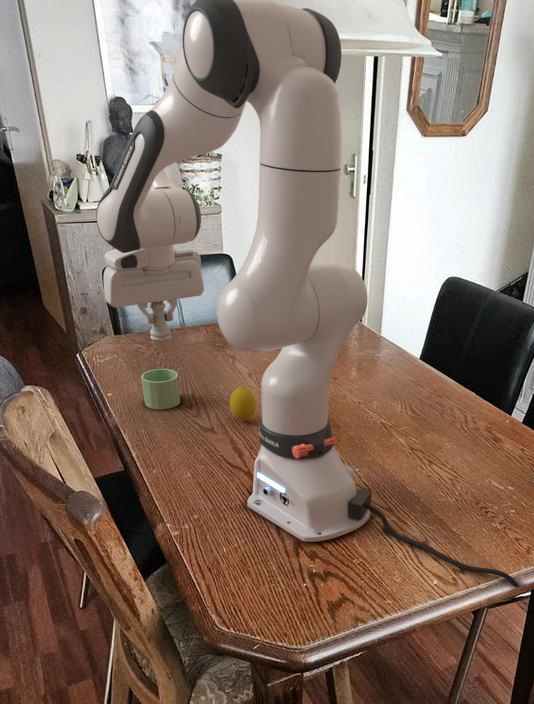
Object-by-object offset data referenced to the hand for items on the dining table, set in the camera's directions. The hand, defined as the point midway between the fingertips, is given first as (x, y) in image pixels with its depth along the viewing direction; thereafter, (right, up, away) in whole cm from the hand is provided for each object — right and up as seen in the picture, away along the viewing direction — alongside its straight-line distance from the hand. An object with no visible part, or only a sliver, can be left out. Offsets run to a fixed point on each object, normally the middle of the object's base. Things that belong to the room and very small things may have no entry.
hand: (159, 321), depth 132 cm
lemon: (+17, -21, +4) cm, 27 cm away
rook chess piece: (0, -3, +2) cm, 4 cm away
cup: (-2, -16, +11) cm, 19 cm away
